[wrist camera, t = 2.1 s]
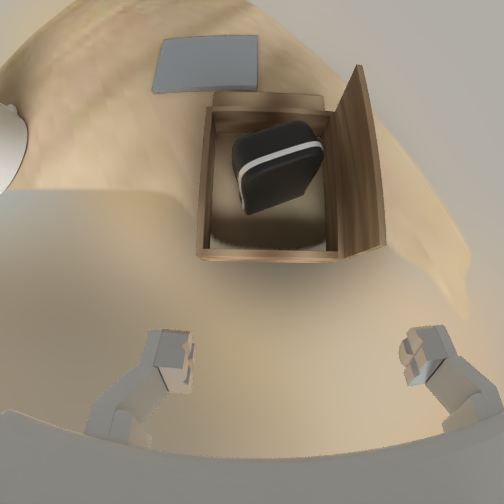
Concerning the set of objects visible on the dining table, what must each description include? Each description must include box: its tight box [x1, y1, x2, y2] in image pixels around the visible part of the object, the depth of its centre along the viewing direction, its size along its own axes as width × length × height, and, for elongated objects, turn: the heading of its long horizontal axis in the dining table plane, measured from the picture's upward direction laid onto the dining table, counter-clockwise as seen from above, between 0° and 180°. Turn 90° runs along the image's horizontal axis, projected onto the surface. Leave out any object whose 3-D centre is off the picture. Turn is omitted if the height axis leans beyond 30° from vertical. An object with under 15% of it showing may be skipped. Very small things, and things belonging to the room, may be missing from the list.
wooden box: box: [196, 65, 386, 263], centre depth 27 cm, size 14×20×12 cm
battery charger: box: [232, 120, 324, 215], centre depth 27 cm, size 7×4×11 cm, turn 111°
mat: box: [152, 35, 258, 94], centre depth 34 cm, size 13×10×1 cm
